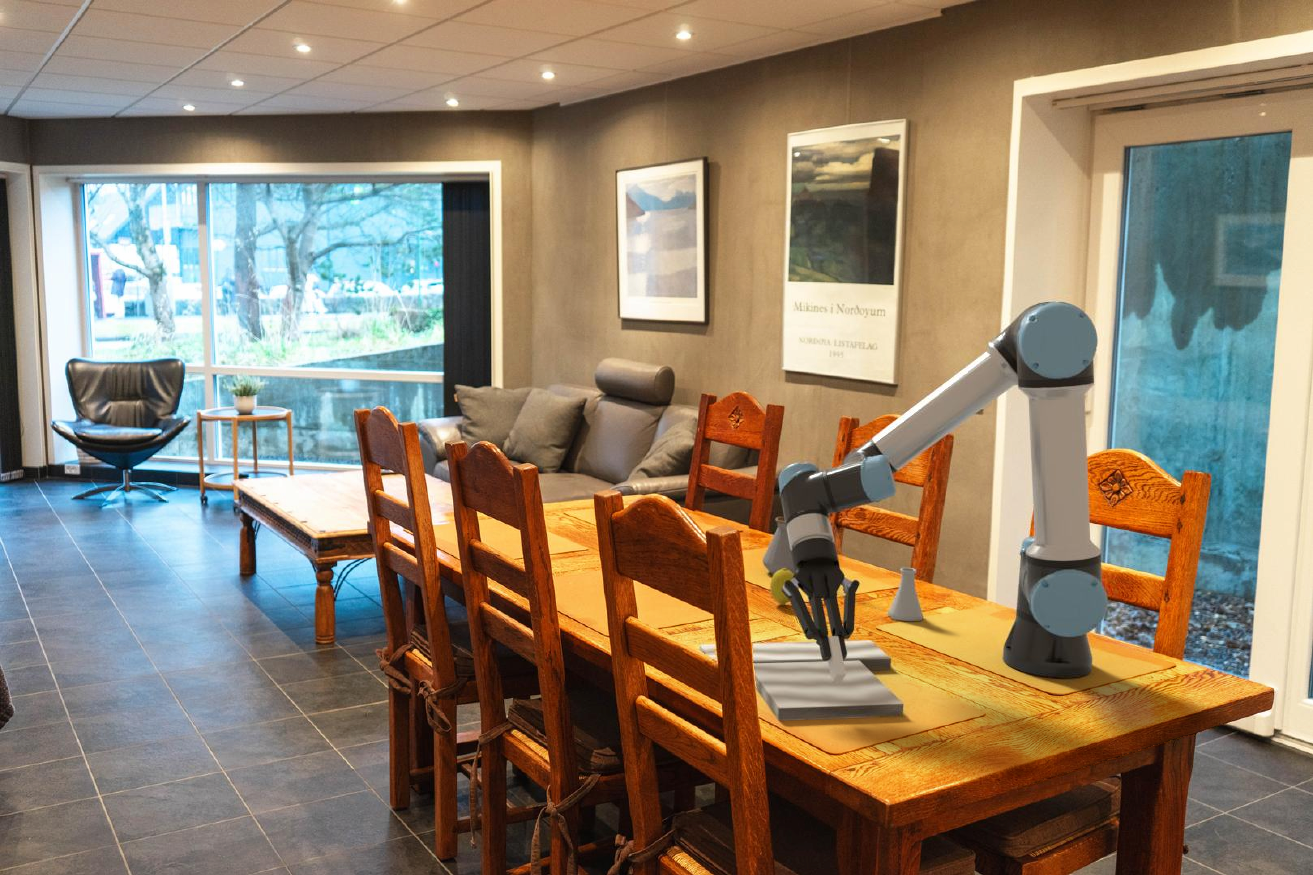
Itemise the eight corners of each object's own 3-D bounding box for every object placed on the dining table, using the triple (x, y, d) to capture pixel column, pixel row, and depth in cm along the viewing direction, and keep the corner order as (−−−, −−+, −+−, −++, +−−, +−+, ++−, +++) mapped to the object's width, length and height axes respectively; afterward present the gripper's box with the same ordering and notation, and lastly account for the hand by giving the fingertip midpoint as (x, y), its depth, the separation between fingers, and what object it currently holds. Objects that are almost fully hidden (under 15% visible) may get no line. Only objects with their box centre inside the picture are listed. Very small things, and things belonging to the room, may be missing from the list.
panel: (746, 674, 188) (747, 663, 188) (858, 671, 192) (859, 660, 191) (778, 720, 169) (779, 707, 168) (902, 715, 172) (903, 703, 172)
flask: (921, 613, 228) (924, 566, 227) (925, 623, 221) (928, 575, 220) (885, 610, 229) (888, 563, 228) (888, 621, 222) (891, 572, 220)
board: (699, 655, 198) (699, 644, 197) (870, 650, 203) (870, 640, 203) (711, 674, 188) (711, 663, 188) (890, 669, 193) (891, 658, 193)
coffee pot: (752, 570, 259) (754, 507, 257) (791, 565, 265) (794, 503, 263) (809, 593, 241) (812, 525, 239) (849, 587, 246) (853, 521, 244)
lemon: (797, 609, 228) (799, 571, 227) (770, 608, 228) (772, 570, 227) (794, 601, 233) (796, 564, 232) (768, 600, 233) (770, 564, 232)
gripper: (843, 558, 189) (871, 687, 175) (769, 558, 187) (792, 689, 173) (856, 535, 183) (886, 666, 169) (780, 535, 181) (804, 668, 167)
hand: (838, 678), depth 171 cm, fingers closed
